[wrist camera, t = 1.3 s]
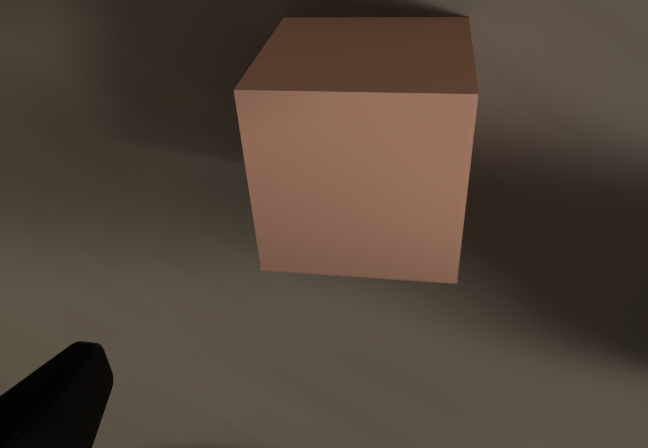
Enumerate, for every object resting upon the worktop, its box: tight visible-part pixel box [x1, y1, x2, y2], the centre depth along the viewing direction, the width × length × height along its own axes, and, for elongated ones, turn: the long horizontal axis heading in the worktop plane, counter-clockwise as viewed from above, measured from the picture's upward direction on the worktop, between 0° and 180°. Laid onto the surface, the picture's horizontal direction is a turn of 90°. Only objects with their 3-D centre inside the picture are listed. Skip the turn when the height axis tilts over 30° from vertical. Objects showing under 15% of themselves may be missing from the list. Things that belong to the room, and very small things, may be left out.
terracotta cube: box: [234, 17, 479, 284], centre depth 18 cm, size 6×6×6 cm
